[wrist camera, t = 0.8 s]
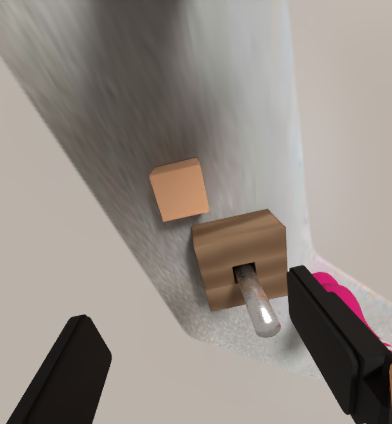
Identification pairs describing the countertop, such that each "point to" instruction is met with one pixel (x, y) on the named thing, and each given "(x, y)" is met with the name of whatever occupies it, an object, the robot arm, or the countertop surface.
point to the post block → (241, 256)
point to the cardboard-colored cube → (179, 189)
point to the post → (257, 302)
